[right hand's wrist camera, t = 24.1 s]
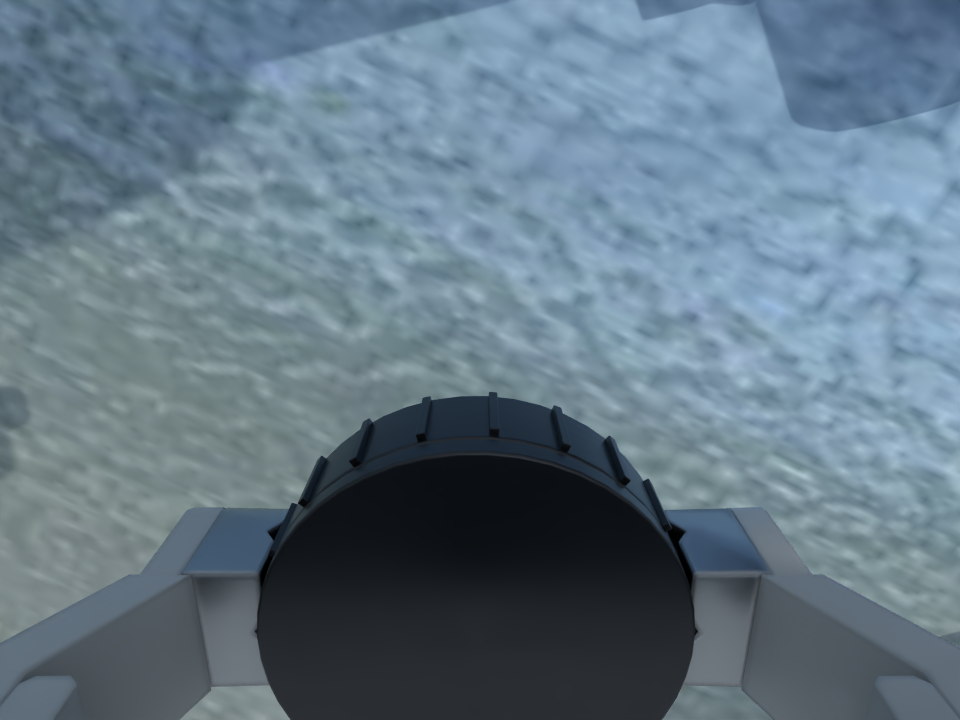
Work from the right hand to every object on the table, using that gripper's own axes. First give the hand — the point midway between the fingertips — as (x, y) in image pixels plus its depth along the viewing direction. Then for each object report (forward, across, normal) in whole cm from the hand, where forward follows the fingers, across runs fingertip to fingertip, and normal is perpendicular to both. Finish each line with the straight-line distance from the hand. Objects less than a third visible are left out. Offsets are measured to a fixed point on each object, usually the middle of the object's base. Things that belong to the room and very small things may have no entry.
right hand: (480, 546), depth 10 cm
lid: (-2, 0, 0) cm, 2 cm away
